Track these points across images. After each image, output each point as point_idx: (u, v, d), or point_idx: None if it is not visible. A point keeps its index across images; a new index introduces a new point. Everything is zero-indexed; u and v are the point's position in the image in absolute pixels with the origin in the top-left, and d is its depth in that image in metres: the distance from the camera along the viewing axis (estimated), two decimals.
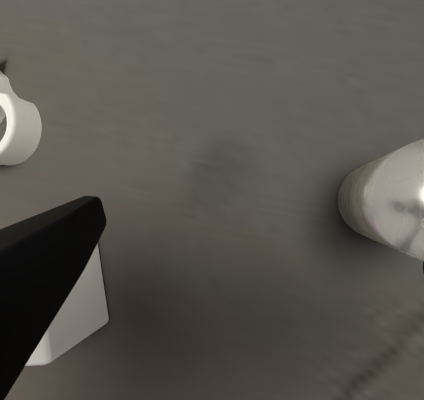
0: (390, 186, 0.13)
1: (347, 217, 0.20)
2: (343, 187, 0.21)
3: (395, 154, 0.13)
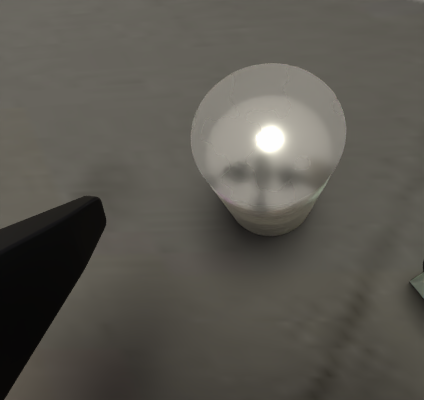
0: (207, 130, 0.11)
1: None
2: None
3: (206, 96, 0.12)
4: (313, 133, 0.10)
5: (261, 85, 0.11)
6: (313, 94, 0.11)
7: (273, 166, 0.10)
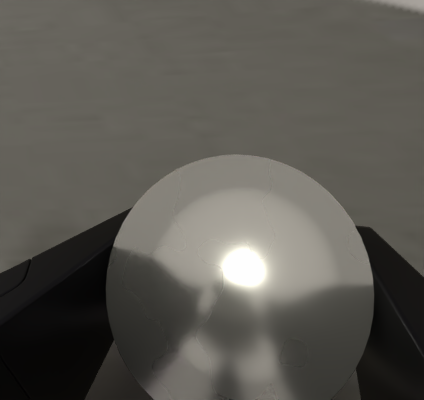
0: (133, 269, 0.07)
1: None
2: None
3: (136, 206, 0.07)
4: (315, 293, 0.06)
5: (226, 194, 0.07)
6: (314, 218, 0.06)
7: (242, 351, 0.06)
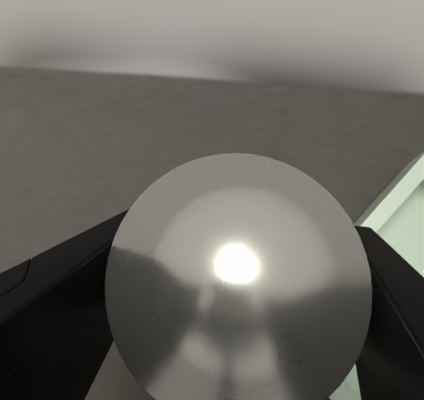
0: (132, 268, 0.07)
1: None
2: None
3: (135, 204, 0.07)
4: (313, 292, 0.06)
5: (225, 192, 0.07)
6: (312, 216, 0.06)
7: (241, 350, 0.06)
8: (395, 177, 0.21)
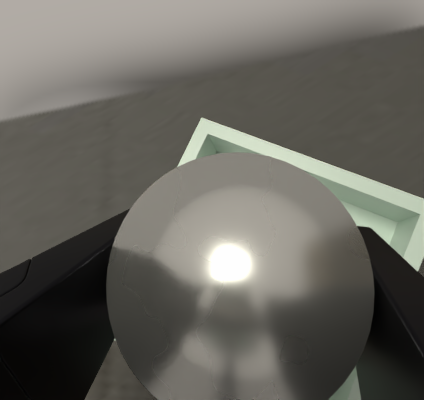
0: (133, 267, 0.07)
1: None
2: None
3: (137, 203, 0.07)
4: (315, 291, 0.06)
5: (226, 192, 0.07)
6: (314, 215, 0.06)
7: (243, 349, 0.06)
8: None
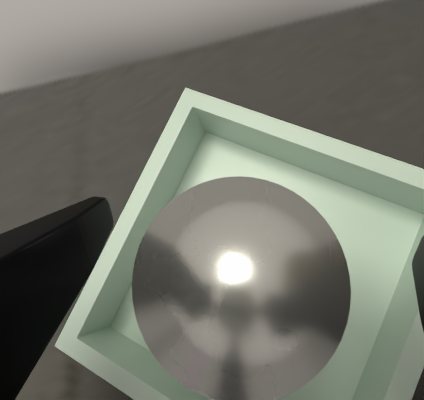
0: (154, 272, 0.08)
1: None
2: None
3: (156, 219, 0.08)
4: (303, 292, 0.07)
5: (231, 209, 0.08)
6: (303, 230, 0.07)
7: (245, 338, 0.07)
8: None
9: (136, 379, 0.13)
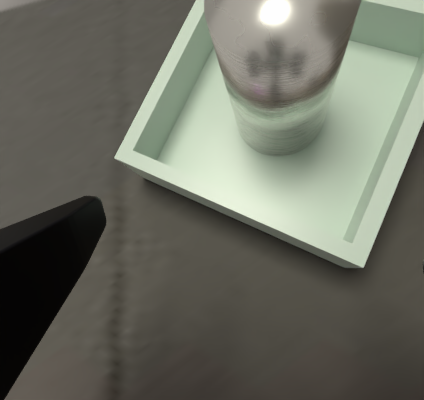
0: None
1: (240, 126, 0.17)
2: None
3: None
4: None
5: None
6: None
7: (289, 24, 0.10)
8: None
9: (184, 174, 0.16)
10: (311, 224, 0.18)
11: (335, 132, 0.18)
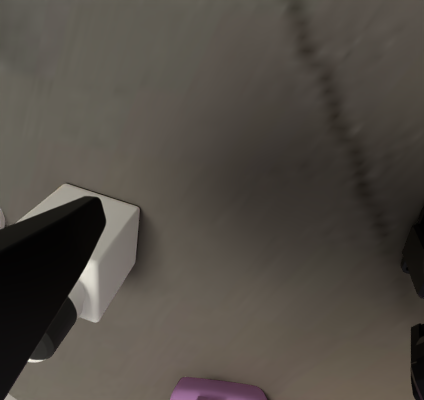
0: None
1: None
2: None
3: None
4: None
5: None
6: None
7: None
8: None
9: None
10: None
11: None
